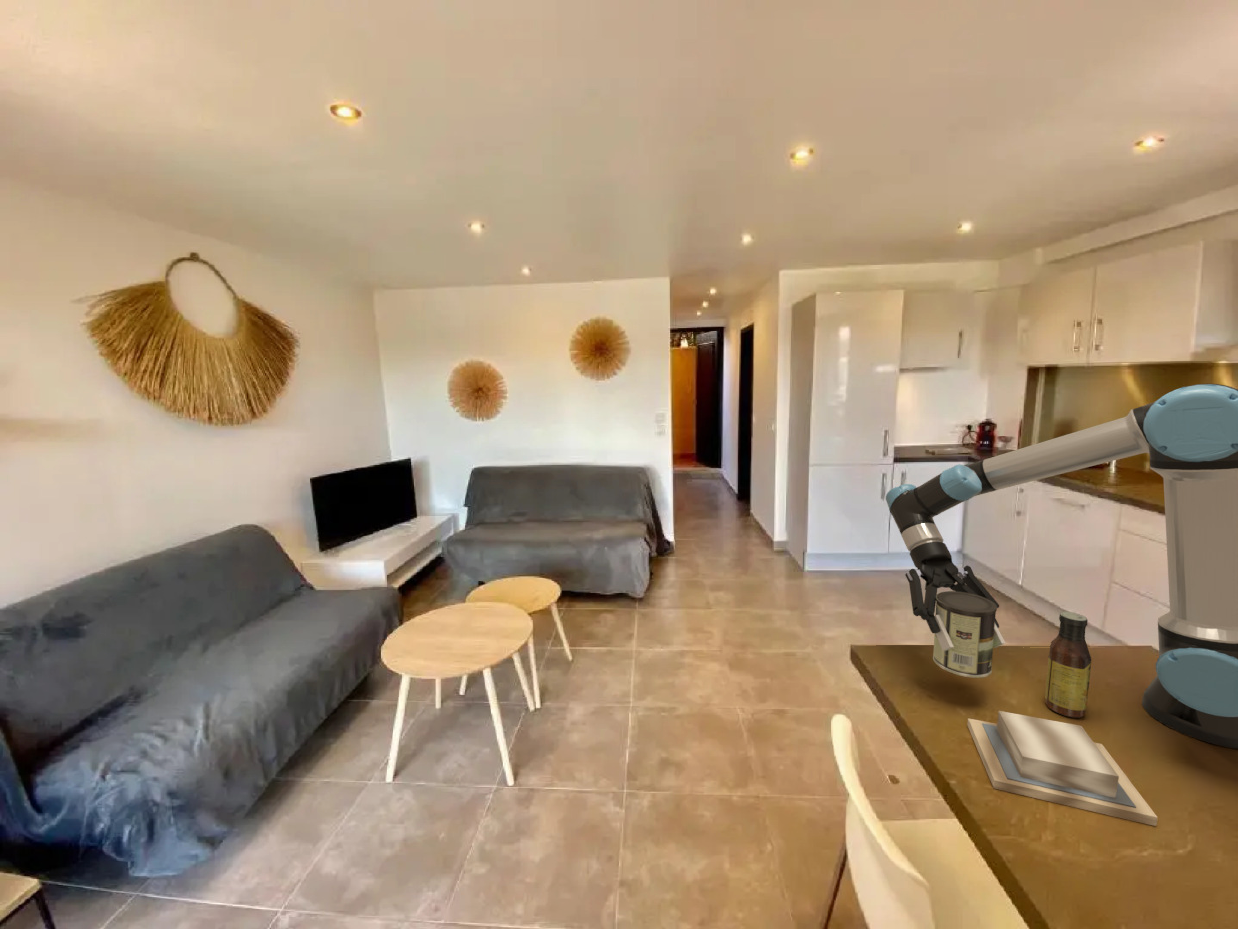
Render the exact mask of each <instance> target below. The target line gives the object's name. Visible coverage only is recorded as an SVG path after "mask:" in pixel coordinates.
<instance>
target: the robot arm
mask: <svg viewBox="0 0 1238 929" xmlns="http://www.w3.org/2000/svg"><path fill="white" fill-rule="evenodd" d="M1141 454H1148V455H1149V468H1150V469H1149V470H1152V471H1153V472H1155V473H1157V474H1158V475H1160V476H1161V477H1162V479H1163V493H1164V494H1163V496H1164V497H1163V498H1164V516H1165V517H1164V518H1165V533H1166V534H1165V538H1166V539H1165V540H1166V556H1167V575H1168V576H1167V577H1168V578H1167V580H1168V598H1169V612H1166V613H1165V614H1163V615H1161V616H1159V617H1158V619H1157V633H1158V635H1157V636H1158V659H1157V660H1156V663H1155V671H1156V676H1155V677H1154V678H1153V680H1152V681H1151V683H1150V684H1149V685H1148V686H1147V688H1145V690H1144V692H1143V695H1142V702H1141V705H1142V707H1143V709H1144V710H1145V711H1146V712H1147V713H1148V714H1149V715H1150V716H1152V717H1153V718H1154V719H1155V720H1157V721H1158V722H1160V723H1161V724H1163V725H1165V726H1166V727H1169V728H1170V729H1173V730H1175V731H1177V732H1179V733H1181V734H1184V735H1186V736H1188V737H1191V738H1194V739H1197V740H1199V741H1203V742H1206V743H1209V744H1212V745H1217V746H1220V747H1225V748H1229V749H1238V388H1235V387H1232V386H1229V385H1225V384H1219V383H1200V384H1199V383H1198V384H1192V385H1188V386H1182V387H1180V388H1177V389H1174V390H1172V391H1170V392H1168V393H1166V394H1163V395H1162V396H1161V397H1160V398H1159V399H1157V400H1155V401H1152V402H1150V403H1147V404H1144V405H1141V406H1139V407H1135V408H1133V409H1132V408H1131V409H1130V411H1129V412H1128V414H1127V415H1126V416H1125V417H1120V418H1117V419H1114V420H1111V421H1107V422H1103V423H1101V424H1097V425H1095V426H1091V427H1088V428H1085V429H1081V430H1078V431H1075V432H1072V433H1067V434H1065V435H1061V436H1058V437H1055V438H1051V439H1049V440H1045V441H1042V442H1039V443H1035V444H1032V445H1028V446H1025V447H1022V448H1019V449H1016V450H1013V451H1008V452H1006V453H1002V454H999V455H995V456H993V457H989V458H985V459H983V460H979V461H976V462H973V463H967V464H960V463H959V464H955V465H954V466H952V467H949V468H947V469H945V470H943V471H942V472H941V473H939V474H938V475H936V476H933V477H932V478H931V479H929V480H927V481H926V482H924V483H923V484H921V485H920V486H919V485H918V486H916V485H914V484H910V483H907V484H901V485H899V486H895V487H893V488H891V489H890V490H889V491H888V492H887V493H886V496H885V501H886V504H887V507H888V511H889V513H890V515H891V516H892V518H893V520H894V522H895V524H896V526H897V529H898V531H899V533H900V535H901V538H902V540H903V541H904V542H903V543H904V544H905V546H906V549H907V551H908V552H909V556H910V559H911V560H912V562H913V565H914V567H915V568H916V569H915V568H910V569H909V570H908V571H907V572H906V573H905V574H904V576H905V578H906V580H907V582H908V584H909V592H910V599H911V608H912V614H913V616H915V617H920V618H921V620H923V621H926V624H927V626H928V628H929V631H930V632H931V633H932V634H934V635H935V634H936V636H937V639H938V641H939V643H940V645H941V648H942V650H943V651H947V650H949V649H950V648H952V647H954V646H953V644H952V642H951V639H950V637H949V635H948V633H947V631H946V628H945V626H944V624H943V622H942V620H941V618H940V615H936V595H937V594H938V589H941V588H948V589H950V590H951V591H958V592H966V593H971V594H975V595H979V596H982V597H984V598H987V599H989V600H991V601H992V602H994V603H995V604H996V606H997V609H998V608H1000V604H999V603H998V602H997V600H995V598H994V597H993V595H991V593H990V592H989V591H988V590H987V589H986V587H985V586H984V585H983V584H982V583H981V581H980V580H979V579H978V577H976V576H975V574H974V572H973V569H972V568H971V566H970V565H965V566H964V567H957V566H956V565H955V564H954V563H953V557H952V555H951V553H950V550H949V548H948V546H947V545H946V543H944V539H943V536H942V534H941V532H940V531H939V529H938V526H937V525H936V522H935V521H934V520H935V519H934V518H935V517H936V516H939V515H941V514H942V513H944V512H946V511H948V510H950V509H952V508H954V507H956V506H958V505H961V504H962V503H964V502H967V501H969V500H970V499H972V498H974V497H977V496H980V495H984V494H989V493H992V492H995V491H999V490H1001V489H1003V490H1004V489H1007V488H1010V487H1015V486H1018V485H1022V484H1026V483H1030V482H1035V481H1039V480H1042V479H1043V480H1044V479H1046V478H1049V477H1054V476H1057V475H1058V476H1059V475H1061V474H1063V475H1064V474H1066V473H1070V472H1075V471H1078V470H1081V469H1082V470H1083V469H1086V468H1089V467H1093V466H1094V467H1095V466H1097V465H1101V464H1107V463H1110V462H1114V461H1117V460H1121V459H1122V460H1123V459H1125V458H1130V457H1133V456H1137V455H1141ZM921 579H923V581H925V586H924V590H925V593H924V595H923V590H922V582H921ZM999 628H1000V624H999V622H998V620H997V619H996V617H995V627H994V640H993V648H999V647H1001V646H1003V645H1005V644H1006V641H1005V639H1004V638H1003V635H1002V634H1001V632H1000V630H999Z"/></svg>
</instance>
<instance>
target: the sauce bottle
mask: <svg viewBox="0 0 1238 929" xmlns="http://www.w3.org/2000/svg"><path fill="white" fill-rule="evenodd" d="M1058 620H1059V630H1058V634H1057V636H1056V637H1055V638H1054V639H1053V640H1051V642H1050V646H1049V655H1048V657H1047V658H1048V659H1047V669H1046V670H1047V671H1046V680H1045V681H1046V682H1045V691H1044V698H1045V699H1044V700H1045V704H1046V706H1047V707H1048V708H1049V709H1050V710H1051V711H1053V712H1054V713H1057V714H1058V715H1060V716H1061V715H1062V716H1065V717H1068V718H1075V719H1077V718H1078V719H1080V718H1083V717H1084V716H1085V714H1086V710H1087V708H1088V707H1087V706H1088V698H1089V696H1088V695H1089V690H1090V680H1091V669H1092V656H1091V653H1090V650H1089V647H1088V644H1087V642H1086V629H1087V627H1088V618H1087V617H1086V616H1084V615H1082V614H1079V613H1075V612H1071V611H1063V612H1062V611H1061V612H1060V613H1059V617H1058Z"/></svg>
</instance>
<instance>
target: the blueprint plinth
mask: <svg viewBox="0 0 1238 929" xmlns="http://www.w3.org/2000/svg"><path fill="white" fill-rule="evenodd" d="M967 728H968V730H969V733H970V735H971V737H972V740H973V742H974V745H975V746H976V749H977V752H978V754H979V756H980V760H981V762H982V763H983V766H984V768H985V771H986V774H987V776H988V779H989V781H990V783H991V785H992V786H991V787H992V788H993V789H995V790H997V791H1004V792H1008V793H1012V794H1015V795H1016V794H1017V795H1019V796H1025V797H1027V798H1028V797H1029V798H1033V799H1038V800H1042V801H1047V802H1051V803H1055V804H1060V805H1063V806H1068V807H1072V808H1077V809H1081V810H1084V811H1085V810H1086V811H1090V812H1092V813H1093V812H1094V813H1098V814H1102V815H1107V816H1110V817H1115V818H1119V819H1123V820H1128V821H1131V822H1137V823H1141V824H1146V825H1149V826H1153V827H1157V825H1158V824H1157V823H1158V818H1159V817H1158V816H1157V815H1156V813H1155V812H1154V811H1153V809H1152V808H1151V807H1150V805H1149V804H1148V802H1147V801H1146V800H1145V799H1144V797H1142V795H1141V794H1140V792H1139V791H1138V789H1137V788H1136V787H1135V786H1134V784H1133V783H1132V782H1131V781H1130V779H1129V777H1128V776H1127V774H1126V773H1125V772H1124V771H1123V770H1122V769H1121V767H1120V765H1119V764H1118V763H1117V762H1116V761H1115V759H1114V758H1113V757H1112V756H1111V754H1110V753H1109V752H1108V750H1107V749H1106V747H1105V746H1104V745H1103V744H1102V743H1098V742H1094V741H1093V740H1092V738H1091V737H1090V735H1089V733H1088V732H1086V730H1085V729H1084V727H1083V726H1082V725H1078V724H1074V723H1069V722H1062V721H1057V720H1051V719H1046V718H1039V717H1036V716H1035V717H1034V716H1030V715H1024V714H1018V713H1012V712H1008V711H1003V710H998V713H997V723H994V722H988V721H985V720H979V719H973V718H967Z"/></svg>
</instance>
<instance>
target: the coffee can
mask: <svg viewBox="0 0 1238 929" xmlns="http://www.w3.org/2000/svg"><path fill="white" fill-rule="evenodd" d="M997 609H998V608H997V606H996V604H995V603H994V602H992V601H991V600H989V599H987V598H984V597H982V596H979V595H975V594H971V593H966V592H958V591H953V590H949V591H947V590H946V591H941V592H939V593H938V592H937V595H936V604H935V615H940V618H941V620H942V622H943V624H944V626H945V628H946V631H947V633H948V635H949V637H950V639H951V642H952V644H953V646H954V647H952V648H950V649H949V650H947V651H943V650H942V648H941V645H940V643H939V641H938V639H937V636H936V634H935V633H934V637H933V638H934V640H933V654H932V659H933V662H934V663H935V664H936V665H937V666H938V667H940V668H941V669H943V670H944V671H946V672H948V673H951V674H954V675H955V676H960V677H965V678H974V679H981V678H987V677H989V676H990V675H991V674H992V672H993V671H992V670H993V668H992V667H993V665H992V664H993V650H994V647H993V640H994V627H995V618H996V614H997Z"/></svg>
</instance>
